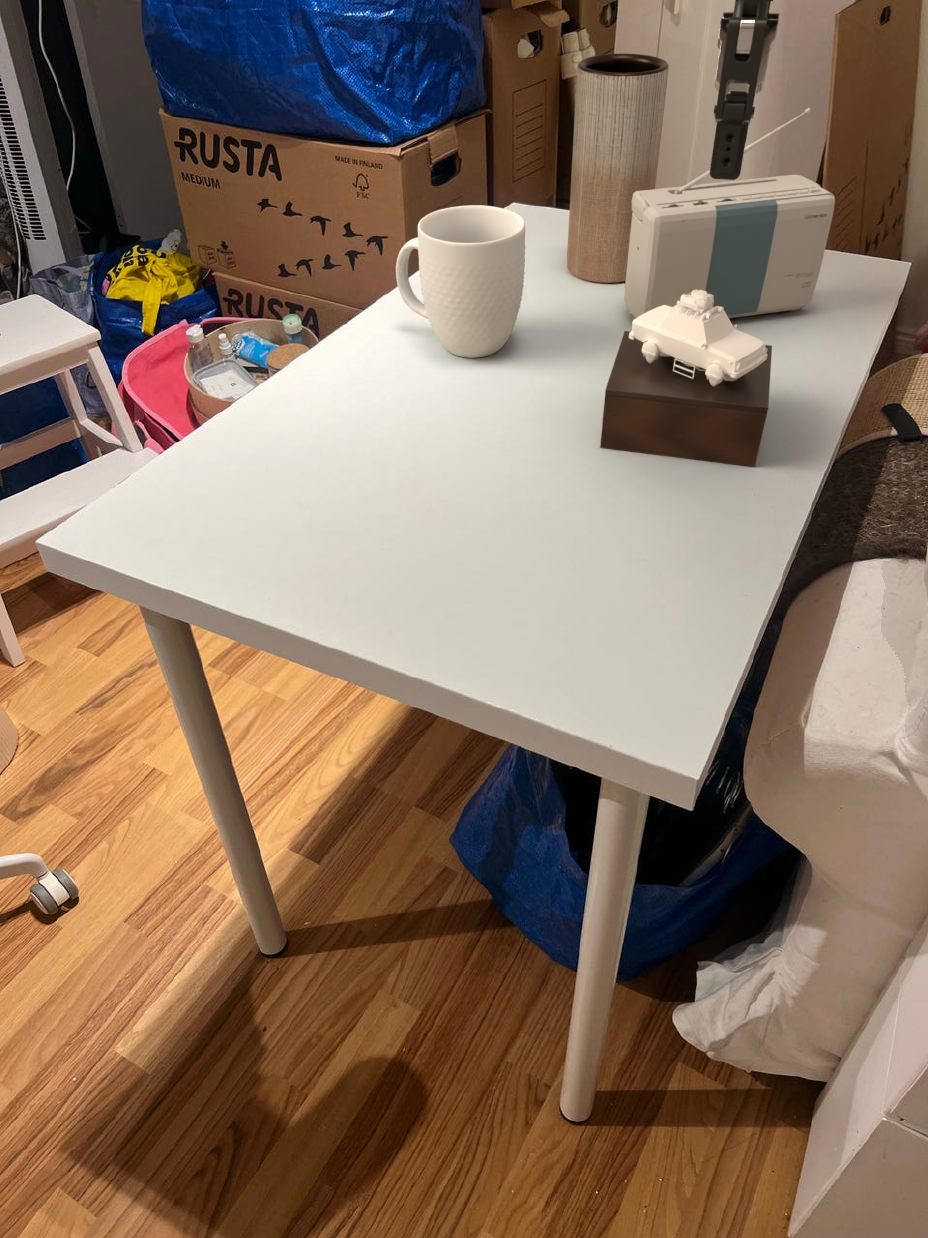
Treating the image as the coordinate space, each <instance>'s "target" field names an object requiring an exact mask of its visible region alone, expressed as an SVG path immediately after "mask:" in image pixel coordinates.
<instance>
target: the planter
mask: <svg viewBox="0 0 928 1238" xmlns="http://www.w3.org/2000/svg"><path fill="white" fill-rule="evenodd" d="M669 67H670V66H669V63H668V62H667V61H666V60H665V59H663V58H661V57H657V56H653V55H649V54H641V53H605V54H598V55H593V56H592V55H591V56H588V57H585V58H582V60H580V61H579V62H578V63H577V67H576V84H575V85H576V86H575V102H574V119H573V120H574V122H573V138H572V139H573V141H572V156H571V157H572V160H571V174H570V175H571V176H570V193H569V195H570V196H569V210H568V212H569V215H568V232H567V233H568V234H567V247H566V250H567V251H566V268H567V271H569V273H570V274H571V275H573V276H575V277H576V278H579V279H581V280H583V281H588V282H593V283H601V284H617V283H624V282H626V273H627V263H628V253H629V243H630V233H631V223H632V212H633V211H632V198H633V194H634V193H635V192H636V191H643V190H653V189H656V185H657V175H658V167H659V158H660V149H661V141H662V140H661V139H662V130H663V123H664V114H665V106H666V105H665V104H666V96H667V89H668V78H669V69H670V68H669Z"/></svg>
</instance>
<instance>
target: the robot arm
mask: <svg viewBox="0 0 928 1238" xmlns="http://www.w3.org/2000/svg"><path fill="white" fill-rule="evenodd" d="M771 2H774V0H734V7H733V11H723V13H722V17H721V18H720V22H719V29H718V35H717V36H718V37H717V48H718V50H719V52H718V57H717V63H716V69H715V75H714V89H715V91H717V92H718V94H717V101H716V104H714V108H713V118H714V122H715V125H716V127H715V133H714V140H713V147H712V153H711V160H710V167H709V170H710V175H709V176H710V177H711V178H712V179H714V180H724V181H726V180H727V181H736V180H737V179H738V178H739V177H740V175H741V172H742V166H743V160H744V155H745V153H744V148H745V147H746V142H747V138H748V133H749V126H750V124H751V121H752V120H753V119H754V115H755V110H756V106H754V103H755V97H756V95H757V94H758V93H760V92H761V91H762V90H763V89H764V86H765V82H766V74H767V69H768V64H769V57H770V53H771V51H772V50H773V49H774V47H775V45H776V44H775V43H776V37H777V33H778V27H779V21H780V19H779V18H780V12H770V7H771V4H772V3H771Z"/></svg>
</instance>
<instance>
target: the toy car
mask: <svg viewBox="0 0 928 1238" xmlns="http://www.w3.org/2000/svg"><path fill="white" fill-rule="evenodd" d="M689 294H690V293H689ZM689 294H687V295H685V294H683V295H682V296H681V298H680V301H677V305H675V306H674V307H670V306H667V305H662V306H659V307H657V308H655V309H652V310H650V311H648V312H646V313H644V314H642V315H641V316H639V317H637V318H636V319H635V318H633V320H632V321H631V331H629V332H630V333H629V338H630V339H632V340H634V339H635V338H636V339H638V340H640V341H642V342H643V343H644V342H645V341H647V340H648V341H647V342H645V343H644V344H643V346H642V353H643V357H645V356H646V360H647V362H649V363H652V362H653V361H654V360H656V359H658V357H659V355H660V356H666V357H669V356H672V357H675V360H674V367H675V366H676V367H678V368H681V369H684V370H686V371H689V372H691V373H693V377H690V376H688V375H685V374H682V373H680V372H677V371H675V370H674V367H673V371H674V372H677V373H679V374H682V375H684V376H687V377H689V378H692V379H694V373H695V368H696V369H698V370H699V371H706V372H705V375H706V377H707V380H708V379H709V381H710V384H711V385H712V386H713V387H714V386H716V385H717V384H719V383H721V382H722V381H723V379H724V380H725V381H735V380H736V379H738V378H740V377H741V376H743V375H745V374H746V373H748V372H750V371H751V370H753V369H754V368H756V367H757V366H759V365H760V364H761V363H763V362H764V361H765V360H766V359H767V355H768V354H766V353H767V348H765V347H766V345H767V344H765V342H764V341H763V340H762V339H759V338H758V337H756V336H753V335H750V334H748V333H746V332H744V331H741V330H739V329H737V328H738V324H737V323H736V324H733V323H732V321H731V320H730V318H728V316H727V315H726V313H725V311H724V307H719V306H715V307H713V305H714V300H713V298H714V295H712V294H708V293H707V292H706V291H703V290H697V289H696V290H693V291H692V292H691V295H689ZM712 304H713V305H712ZM678 359H680V360H678ZM676 360H677V361H680V362H682V363H683V364H685V365H686V366H692V367H694V371H692V370H689V369H686V368H684V367H681V366H679V365H676V364H675V361H676ZM682 360H683V361H685V362H683V361H682ZM686 362H688V363H686ZM689 363H690V364H689ZM687 364H688V365H687ZM691 364H692V365H691ZM699 368H704V369H706V370H702V369H699Z"/></svg>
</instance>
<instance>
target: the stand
mask: <svg viewBox="0 0 928 1238" xmlns="http://www.w3.org/2000/svg"><path fill="white" fill-rule="evenodd" d="M630 332H631V331H628V330H624V332H623V333H622V334H623V335H622V338H621V341H620V344H619V347H618V350H617V353H616V357H615V360H614V362H613V365H612V369H611V372H610V375H609V378H608V381H607V384H606V387H605V392H604V400H603V401H604V403H603V413H602V424H601V434H600V444H599V447H600V448H601V449H602V448H603V449H611V450H617V451H627V452H634V453H642V454H651V455H657V456H666V457H672V458H673V457H674V458H683V459H691V460H697V461H705V462H712V463H713V462H714V463H720V464H722V463H723V464H728V465H729V464H730V465H737V466H745V467H753V468H754V467H756V463H757V459H758V455H759V452H760V451H759V450H760V447H761V442H762V437H763V433H764V428H765V423H766V419H767V415H768V411H769V404H770V401H769V400H770V386H771V369H772V353H773V346H772V345H771V344H765V345H766V347H765V348H767V353H766V354H768V355H767V359H766V360H765V361H764V362H763V363H761V364H760V365H759V366H757V367H756V368H754V369H753V370H751V371H750V372H748V373H746V374H745V375H743V376H741V377H740V378H738V379H736V380H735V381H725V380H724V379H723V381H722V382H721V383H719V384H717V385H716V386H714V387H713V386H712V385H711V384H710V381H709V379H708V380H707V377H706V375H705V372H706V371H699V370H698V369H696V368H695V373H694V379H692V378H689V377H687V376H684V375H682V374H685V375H688V376H690V377H693V373H691V372H689V371H686V370H684V369H681V368H678V367H676V366H675V367H674V360H675V357H672V356H669V357H666V356H660V355H659V357H658V359H656V360H654V361H653V362H652V363H649V362H647V360H646V356H645V357H643V353H642V346H643V344H644V343H645V342H647V341H648V340H647V341H645V342H644V343H643V342H642V341H640V340H638V339H636V338H635V339H634V340H632V339H630V338H629V333H630ZM678 360H680V359H678ZM682 361H683V360H682ZM683 362H685V361H683ZM686 363H688V362H686ZM675 364H676V365H679V366H681V367H684V368H686V369H689V370H692V371H694V367H692V366H686V365H685V364H683V363H682V362H680V361H677V360H676V361H675ZM689 364H690V363H689ZM687 365H688V364H687ZM691 365H692V364H691ZM673 367H674V370H675V371H677V372H680V373H682V374H679V373H677V372H674V371H673ZM699 369H702V370H706V369H704V368H699Z"/></svg>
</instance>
